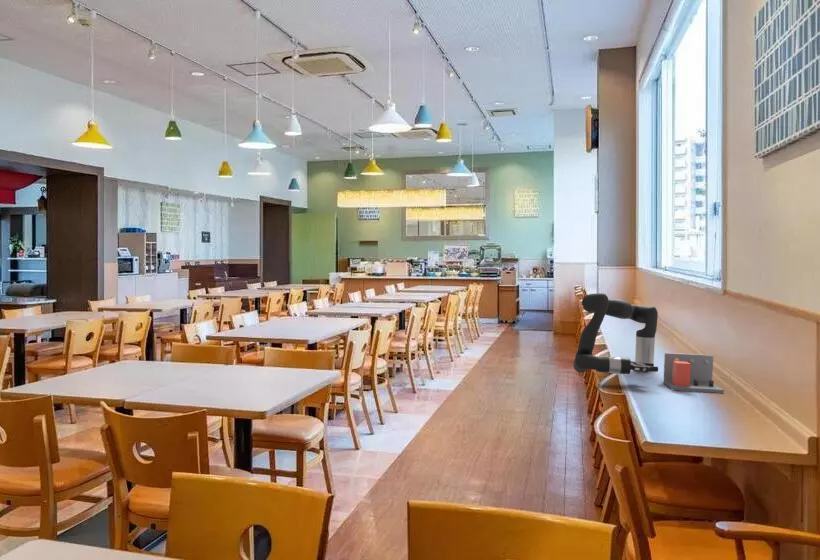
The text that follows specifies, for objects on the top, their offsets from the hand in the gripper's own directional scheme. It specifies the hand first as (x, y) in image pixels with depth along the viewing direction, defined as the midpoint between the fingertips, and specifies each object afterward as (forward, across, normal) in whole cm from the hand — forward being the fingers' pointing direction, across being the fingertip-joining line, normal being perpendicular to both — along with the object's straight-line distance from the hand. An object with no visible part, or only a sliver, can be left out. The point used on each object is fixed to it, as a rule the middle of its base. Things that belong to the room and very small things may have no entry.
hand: (655, 367), depth 285 cm
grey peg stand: (+17, +2, +8) cm, 19 cm away
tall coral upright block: (+11, 0, +7) cm, 13 cm away
